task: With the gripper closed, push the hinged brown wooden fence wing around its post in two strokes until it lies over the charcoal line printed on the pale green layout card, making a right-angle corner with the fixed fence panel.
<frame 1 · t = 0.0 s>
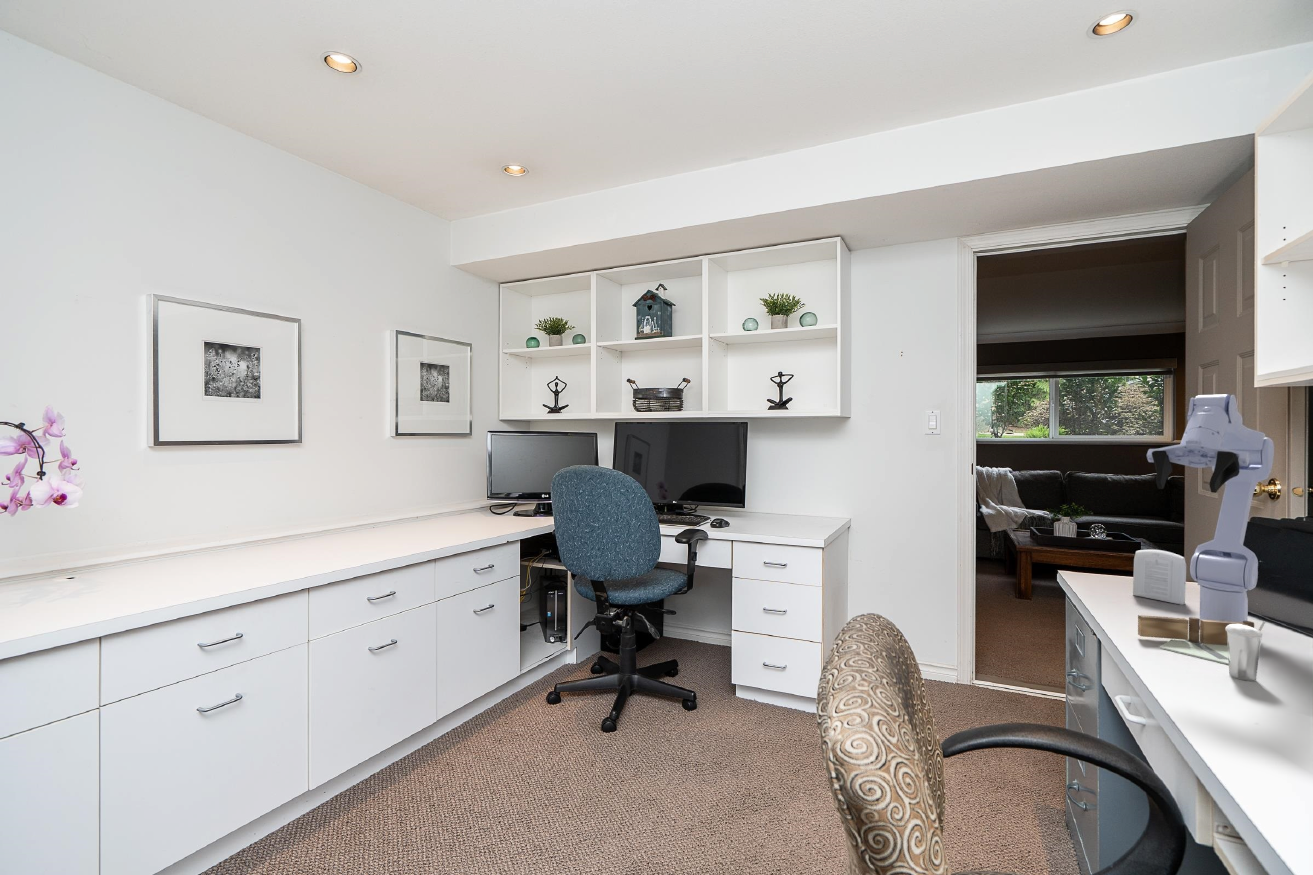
hand: (1185, 486, 111), 32 cm above the table, tool tilted 50°, fingers open, 7 cm apart
fence wing: (1162, 627, 121), point 3 cm above the table, hinge at 0.0°
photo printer: (1158, 600, 149), on the table
layout card: (1208, 648, 117), on the table
milkshake: (1245, 678, 103), on the table
fence fixed: (1193, 642, 119), resting on layout card
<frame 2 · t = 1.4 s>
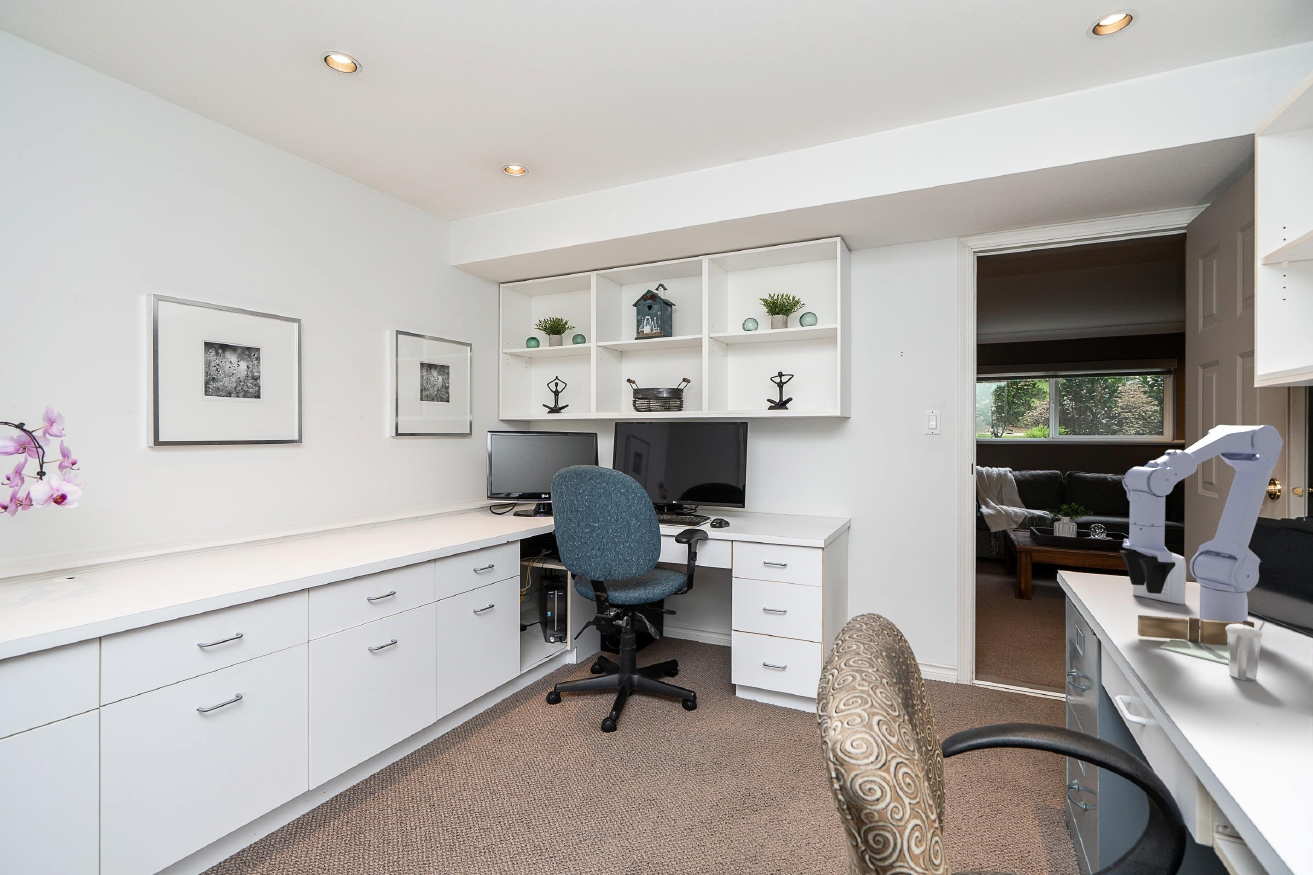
hand: (1145, 588, 125), 9 cm above the table, tool pointing down, fingers open, 6 cm apart
nothing on the table moved.
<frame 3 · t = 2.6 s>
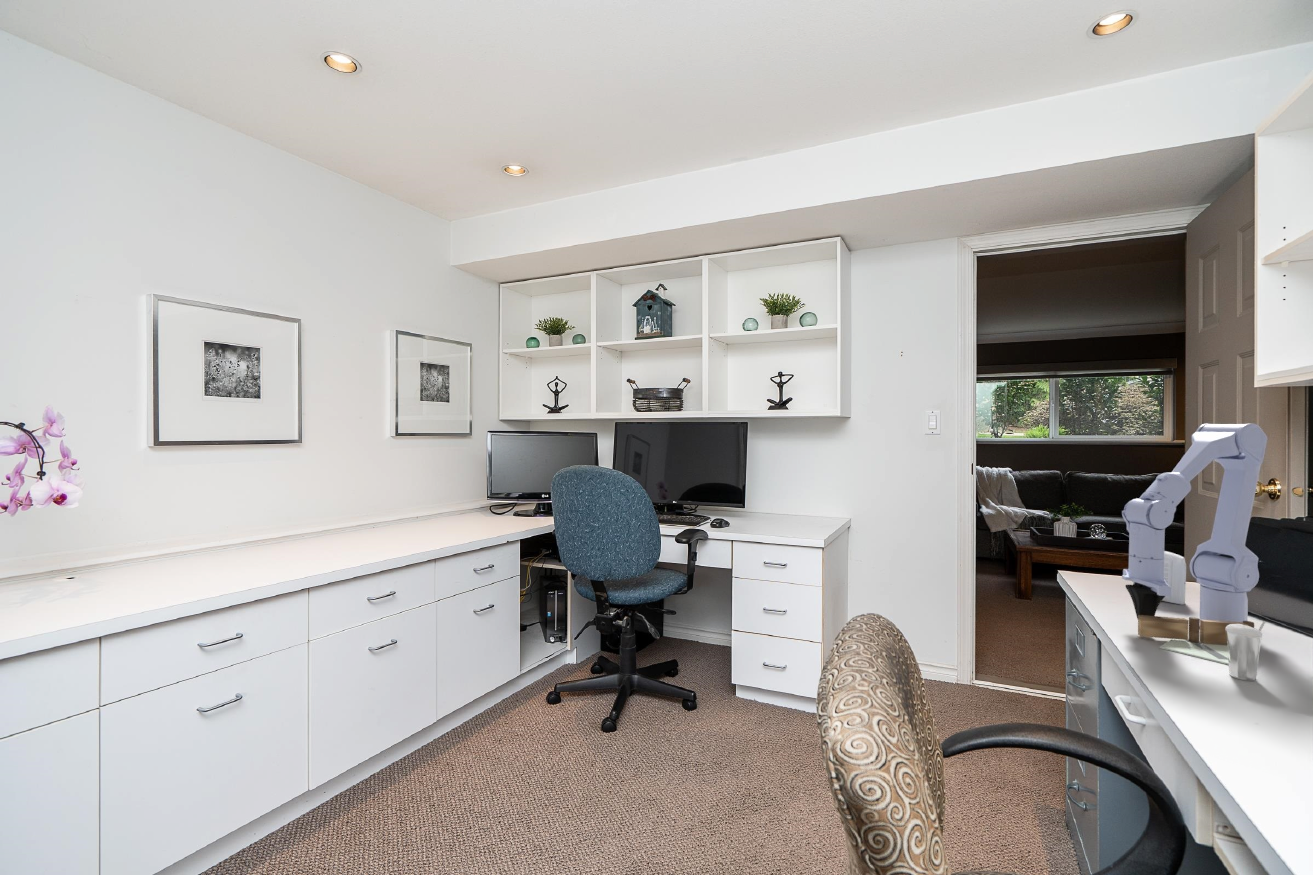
hand: (1144, 620, 125), 3 cm above the table, tool pointing down, fingers closed
nothing on the table moved.
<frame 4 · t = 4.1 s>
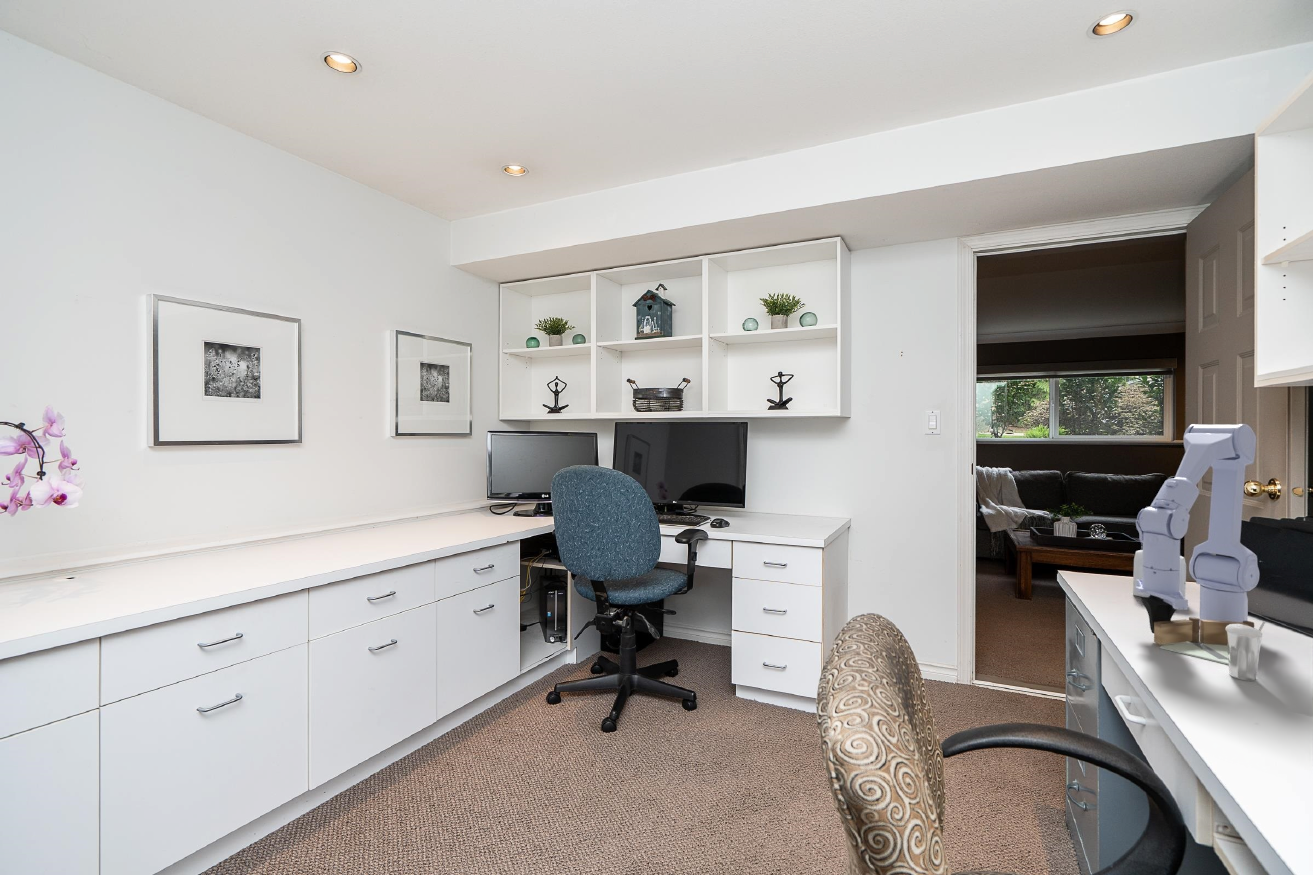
hand: (1159, 634, 120), 2 cm above the table, tool pointing down, fingers closed, pressing on fence wing
fence wing: (1173, 631, 118), point 3 cm above the table, hinge at 27.6°, touching gripper
everything else where it was.
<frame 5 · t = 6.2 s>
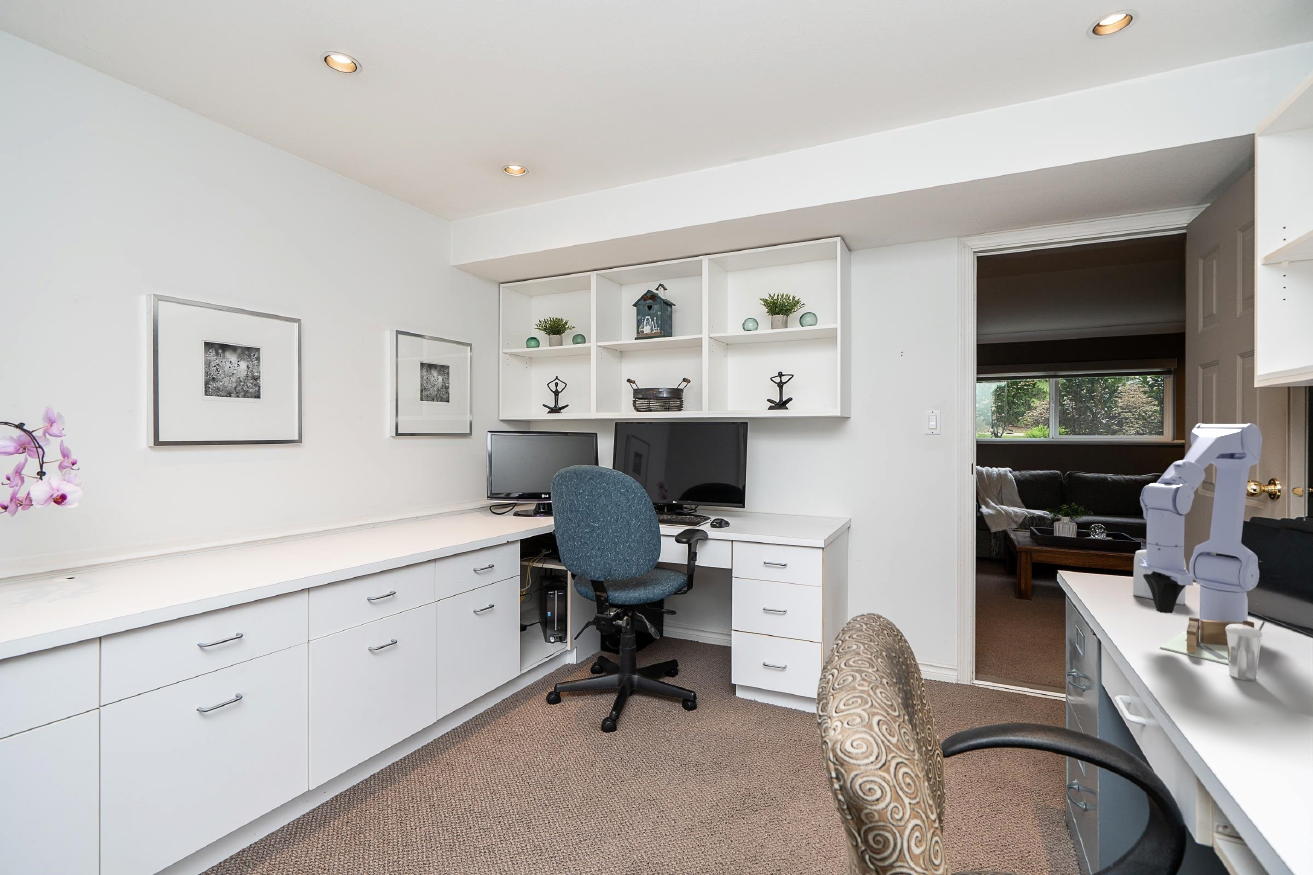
hand: (1164, 611, 118), 7 cm above the table, tool pointing down, fingers closed
fence wing: (1192, 636, 115), point 3 cm above the table, hinge at 60.2°
everything else where it was.
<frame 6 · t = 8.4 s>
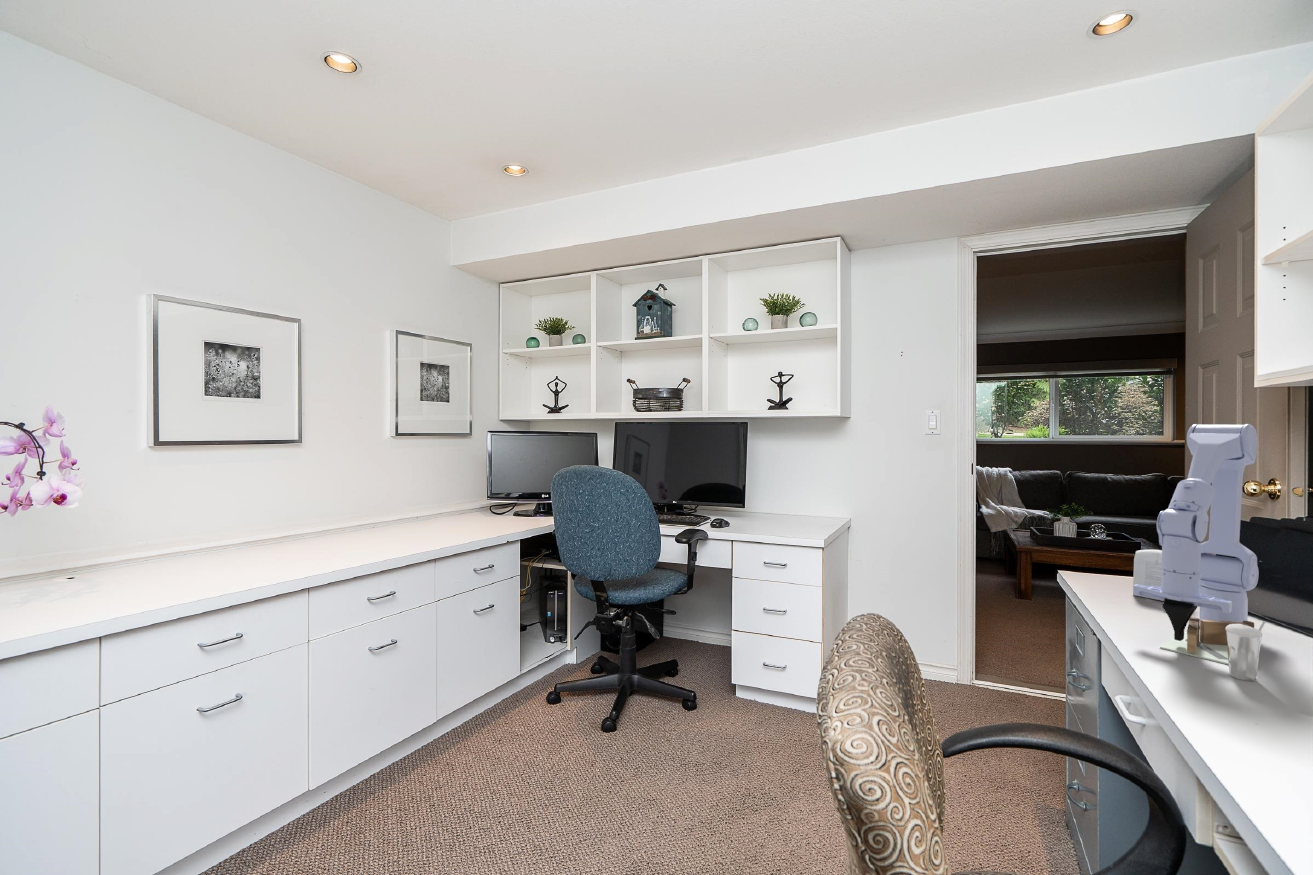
hand: (1179, 639, 117), 2 cm above the table, tool pointing down, fingers closed, pressing on fence wing
fence wing: (1192, 636, 115), point 3 cm above the table, hinge at 60.6°, touching gripper
everything else where it was.
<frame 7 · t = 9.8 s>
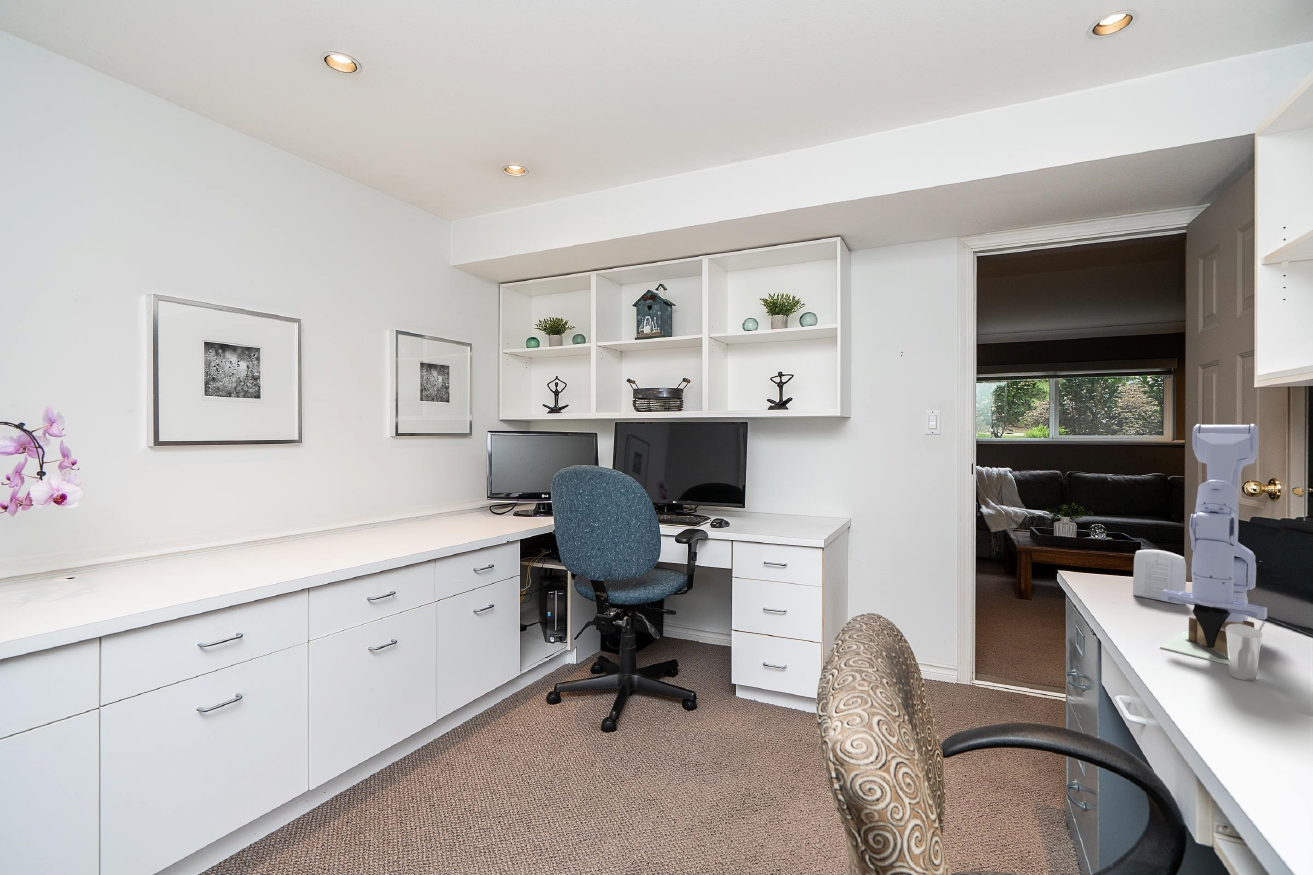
hand: (1211, 646, 113), 2 cm above the table, tool pointing down, fingers closed
fence wing: (1220, 639, 114), point 3 cm above the table, hinge at 107.7°, touching gripper
everything else where it was.
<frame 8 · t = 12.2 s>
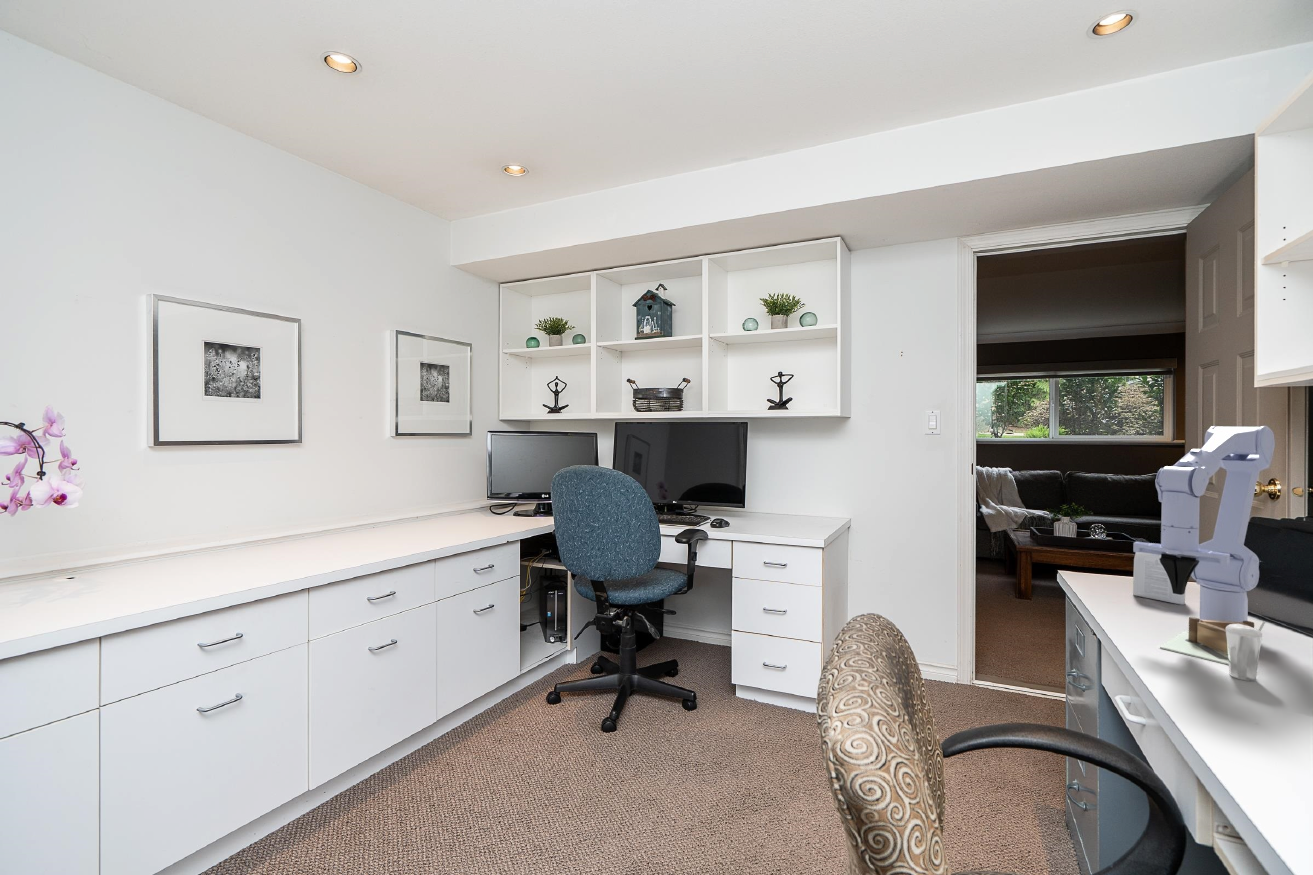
hand: (1178, 593, 120), 10 cm above the table, tool pointing down, fingers closed
fence wing: (1220, 639, 114), point 3 cm above the table, hinge at 108.0°
everything else where it was.
at the end: fence wing at +108° (first picture: +0°); the gripper is holding nothing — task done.
